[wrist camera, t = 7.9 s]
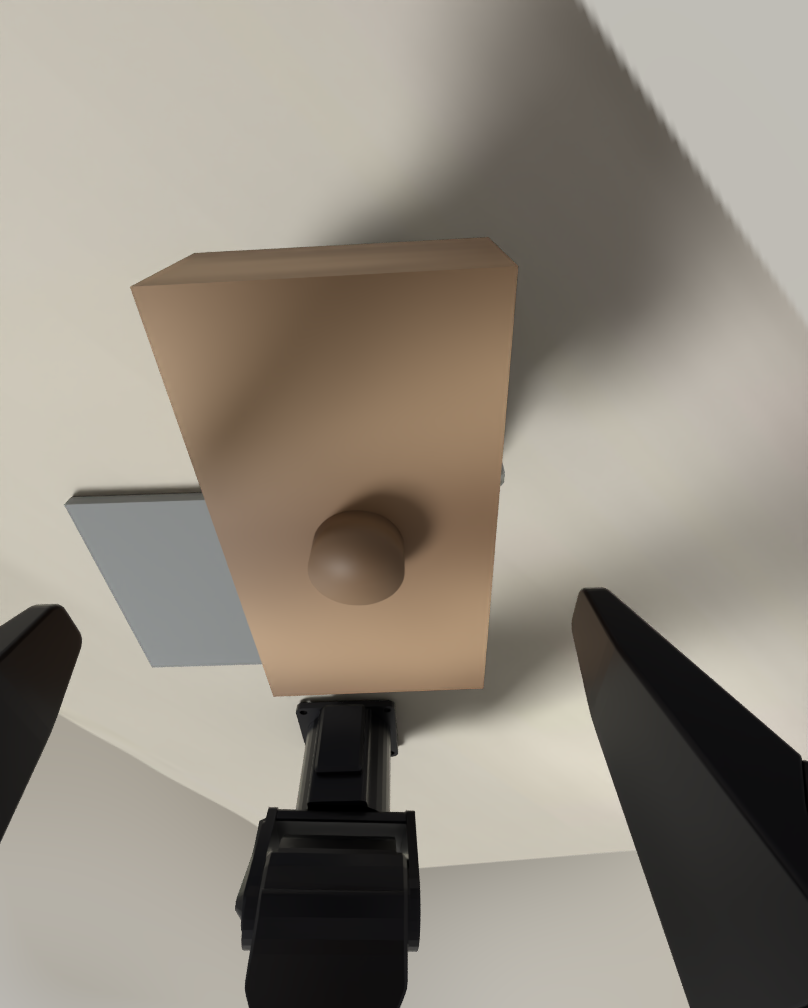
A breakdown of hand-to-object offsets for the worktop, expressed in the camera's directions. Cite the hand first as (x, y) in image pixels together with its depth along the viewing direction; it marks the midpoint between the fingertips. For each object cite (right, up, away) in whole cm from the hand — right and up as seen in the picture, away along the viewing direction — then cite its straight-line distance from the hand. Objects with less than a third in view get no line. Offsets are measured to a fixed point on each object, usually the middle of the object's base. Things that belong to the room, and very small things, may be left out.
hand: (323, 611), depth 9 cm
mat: (-8, -2, +18) cm, 19 cm away
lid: (0, +3, +5) cm, 5 cm away
